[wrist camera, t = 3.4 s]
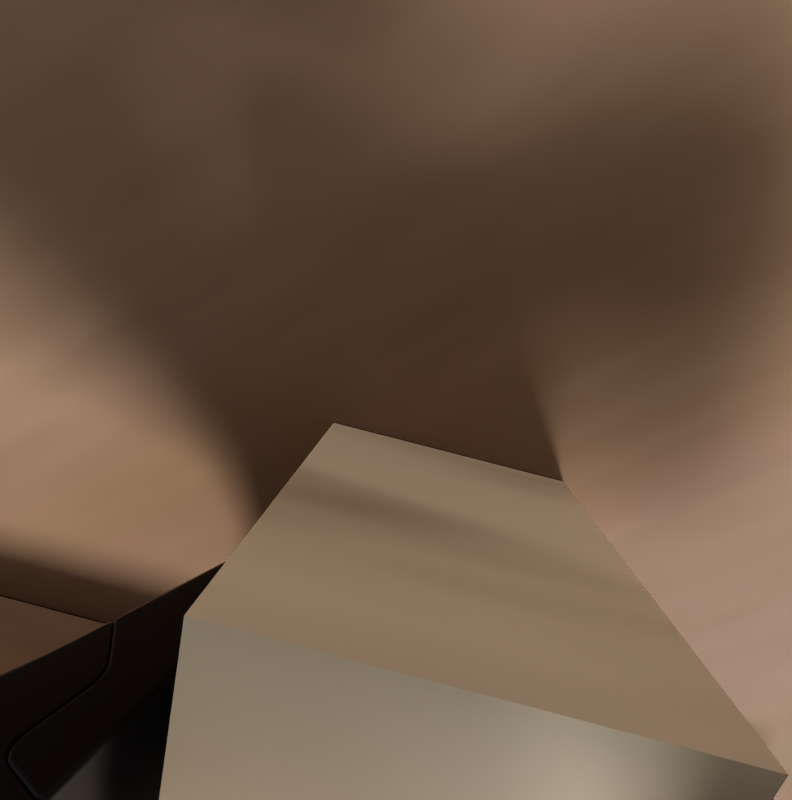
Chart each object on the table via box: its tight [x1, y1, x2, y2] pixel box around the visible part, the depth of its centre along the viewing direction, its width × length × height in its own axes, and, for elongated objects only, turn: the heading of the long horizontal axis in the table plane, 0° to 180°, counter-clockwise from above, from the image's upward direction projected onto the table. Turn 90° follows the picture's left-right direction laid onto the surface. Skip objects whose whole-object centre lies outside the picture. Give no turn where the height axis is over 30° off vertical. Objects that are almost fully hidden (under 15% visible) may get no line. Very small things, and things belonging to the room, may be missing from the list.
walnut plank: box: [0, 596, 104, 674], centre depth 10 cm, size 6×28×2 cm, turn 76°
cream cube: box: [159, 423, 788, 800], centre depth 7 cm, size 6×5×6 cm
